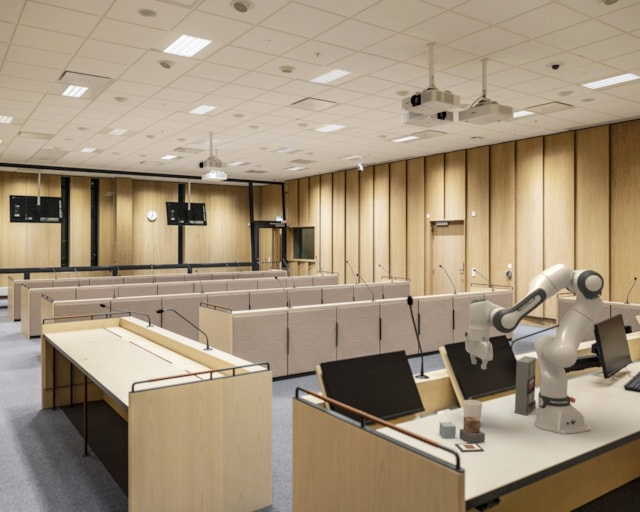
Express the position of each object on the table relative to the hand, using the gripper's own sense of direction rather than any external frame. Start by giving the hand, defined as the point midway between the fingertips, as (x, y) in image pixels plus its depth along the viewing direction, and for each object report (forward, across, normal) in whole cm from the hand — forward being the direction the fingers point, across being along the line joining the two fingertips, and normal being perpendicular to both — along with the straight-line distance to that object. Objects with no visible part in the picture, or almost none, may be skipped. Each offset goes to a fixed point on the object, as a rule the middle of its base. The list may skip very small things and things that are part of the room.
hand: (478, 366), depth 233 cm
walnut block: (+22, -18, +12) cm, 31 cm away
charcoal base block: (+26, -18, +12) cm, 34 cm away
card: (+25, -26, +16) cm, 40 cm away
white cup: (+26, -1, +4) cm, 26 cm away
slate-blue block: (+25, -13, +20) cm, 35 cm away
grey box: (+27, +14, -31) cm, 43 cm away
